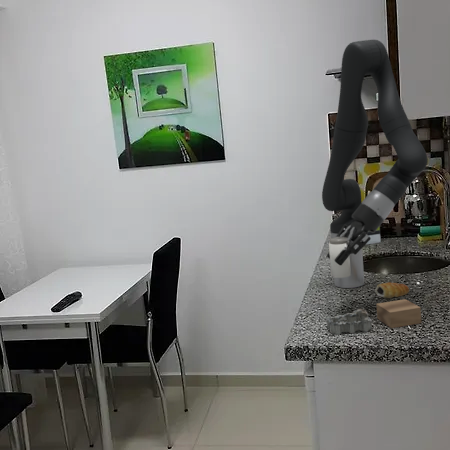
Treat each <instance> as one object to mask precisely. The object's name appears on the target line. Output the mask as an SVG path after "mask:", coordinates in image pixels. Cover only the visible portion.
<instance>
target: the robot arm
mask: <svg viewBox="0 0 450 450" xmlns="http://www.w3.org/2000/svg"><path fill="white" fill-rule="evenodd" d="M340 69H341V70H340V90H339V99H338V105H337V106H338V108H337V111H336V112H337V114H336V119H335V124H334V129H333V130H334V131H333V137H332V145H331V152H330V158H329V162H328V167H327V170H326V175H325V178H324V181H323V187H322V191H321V192H322V193H321V200H322V204H323V206H324V208H325V210H327V211H329V212H337V211H341V214H340V215H339V217H337V218H336V219H335V220H333V221H332V222H330V225H329V230H330V238H334V237H346V238H347V240H346V242H347V243H346V245H345V247H344V250H342V251H341V252H340V254H339V255H338V256H337V257H336V259H335V262H336V263H337V264H339V265H342V264H343V263H344V261H345V260H346V259H347V258H348V256H349V255H350V269H351V275H350V276H349V277H344V278H335V277H333V280H334V281H333V282H334V286H335V287H337V288H341V289H352V288H353V289H354V288H359V287H362V286H364V285H365V275H364V274H365V273H364V272H365V271H364V259H363V247H365V246H366V245H367V244H366V243H367V242H368V241H369V240H370V239H371V238H370V237H369V236H368V235H367V234H368V232H371V233H374V232H375V231H376V230H377V229H378V227H379V226H381V225H382V224H383V223H384V221H385V220H386V219H387V217H388V216H390V213H392V211H393V209H394V207H395V206H396V205H397V204H398V202H399V201H400V200H401V198H402V197H403V196H404V195H405V193H406V190H407V189H408V188H409V187H410V185H411V184H412V183H413V182H414V181H415V180H416V178H418V176H419V175H420V174H421V173H422V172H423V171H424V170H426V168H427V165H428V160H429V159H428V155H427V151H426V150H425V148H424V146H423V144H422V143H421V141H420V140H419V138H418V137H417V135H416V134H415V132H414V131H413V130H414V129H413V128H412V125H411V123H410V120H409V118H408V116H407V114H406V113H407V112H405V110H404V107H403V105H402V102H401V98H400V96H399V92H398V88H397V84H396V79H395V76H394V73H393V68H392V64H391V60H390V57H389V54H388V50H387V48H386V46H385V44H384V43H382V41H380V40H378V39H365V40H358V41H352V42H350V43H348V44H347V46H345V49H344V51H343V54H342V59H341V68H340ZM365 76H371V78H372V80H373V81H374V83H375V86H376V88H377V89H376V90H377V119H378V121H379V124H380V127H381V129H382V131H383V133H384V135H385V136H384V137H385V138H386V140H387V142H388V143H389V145H391V146H392V147H393V149H394V151H395V153H396V155H397V158H398V159H397V160H396V161H395V162H394V164H393V165H392V166H391V168H390V169H389V171H388V172H387V174H385V175H384V176H383V177H382V179H380V180H379V182H378V183H377V184H376V186H375V187H373V189H372V191H371V192H369V193H368V194H367V195H366V197H365V198H364V199H363V201H362V191H361V188H360V184H359V183H358V181H356V179H354V178H347V179H344V178H345V175H346V173H347V171H348V169H349V167H350V166H351V164H352V163H353V161H354V160H355V159H356V158H357V157H358V156H359V153H360V152H361V151H362V150H363V147H364V145H365V141H366V139H367V134H368V133H367V132H368V126H369V118H368V114H367V112H366V111H367V110H366V109H365V106H364V102H363V100H362V90H363V83H364V78H365ZM361 241H362V242H361ZM326 257H327V258H328V259H329V260H330V253H329V252H328V253H327V254H326Z"/></svg>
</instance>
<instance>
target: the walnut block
mask: <svg viewBox="0 0 450 450" xmlns="http://www.w3.org/2000/svg"><path fill="white" fill-rule="evenodd" d="M376 317H377V320H379V321H380V322H382V323H383V324H384V325H385V326H388V327H389V328H390V329H395V328H400V327H406V326H412V325H418V324H422V309H421V307H420V306H419V305H417V304H415V303H414V302H412V301H409V300H407V299H405V298H404V299H397V300H392V301H385V302H378V303H376Z"/></svg>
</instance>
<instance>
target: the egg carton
mask: <svg viewBox="0 0 450 450" xmlns="http://www.w3.org/2000/svg"><path fill="white" fill-rule="evenodd" d="M325 319H326V323H327V329H328V330H329V332H330V334H335V335H341V334H342V333H350V334H354V333H355V332H358V331H362V332H363V333H364V332H369V330H372V322H373V321H372V319H371V317H370V316H369V315H368V312H367V310H366V308H359V309H355V310H353V312H346V313H345V314H343V315H341V314H339V315H335V316H334V317H333V316H332V317H331V316H329V317H325Z"/></svg>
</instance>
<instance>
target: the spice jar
mask: <svg viewBox="0 0 450 450" xmlns="http://www.w3.org/2000/svg"><path fill="white" fill-rule="evenodd" d="M346 240H347V238H346V237H334V238H331V237H330V238H329V242H328V250H329V252H328V253H330V259H329V266H330V276H331V277H332V278H334V277H335V278H344V277H349V276H350V275H351V269H350V255H349V256H348V258H347V259H346V260H345V261H344V263H343V264H342V265H339V264H337V263H336V262H335V259H336V257H337V256H338V255H339V254H340V252H341V251H342V250H344V247H345V245H346V243H347V242H346Z"/></svg>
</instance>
